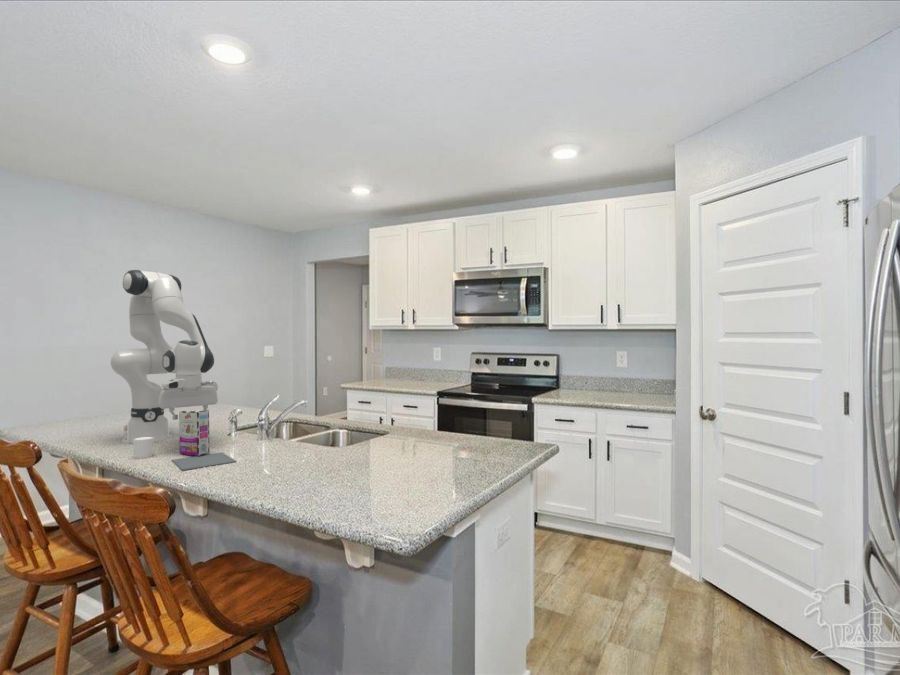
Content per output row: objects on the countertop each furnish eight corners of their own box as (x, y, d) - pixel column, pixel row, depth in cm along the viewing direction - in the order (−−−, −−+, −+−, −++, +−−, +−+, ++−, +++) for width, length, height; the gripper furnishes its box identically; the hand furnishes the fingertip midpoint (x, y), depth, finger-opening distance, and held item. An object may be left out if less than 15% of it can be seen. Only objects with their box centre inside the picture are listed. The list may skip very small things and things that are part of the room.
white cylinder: (158, 455, 183) (158, 436, 183) (145, 459, 176) (145, 440, 176) (141, 454, 183) (141, 436, 183) (127, 459, 177) (127, 439, 177)
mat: (171, 461, 174) (171, 459, 174) (222, 453, 185) (222, 452, 185) (182, 471, 161) (182, 469, 161) (236, 462, 172) (236, 461, 172)
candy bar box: (210, 454, 182) (209, 409, 183) (198, 456, 178) (197, 411, 178) (191, 452, 187) (190, 409, 188) (178, 454, 183) (178, 410, 183)
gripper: (215, 380, 198) (215, 414, 198) (157, 383, 185) (157, 420, 185) (219, 381, 194) (219, 416, 194) (160, 384, 180) (160, 422, 180)
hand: (188, 418), depth 189 cm, fingers open, 8 cm apart
